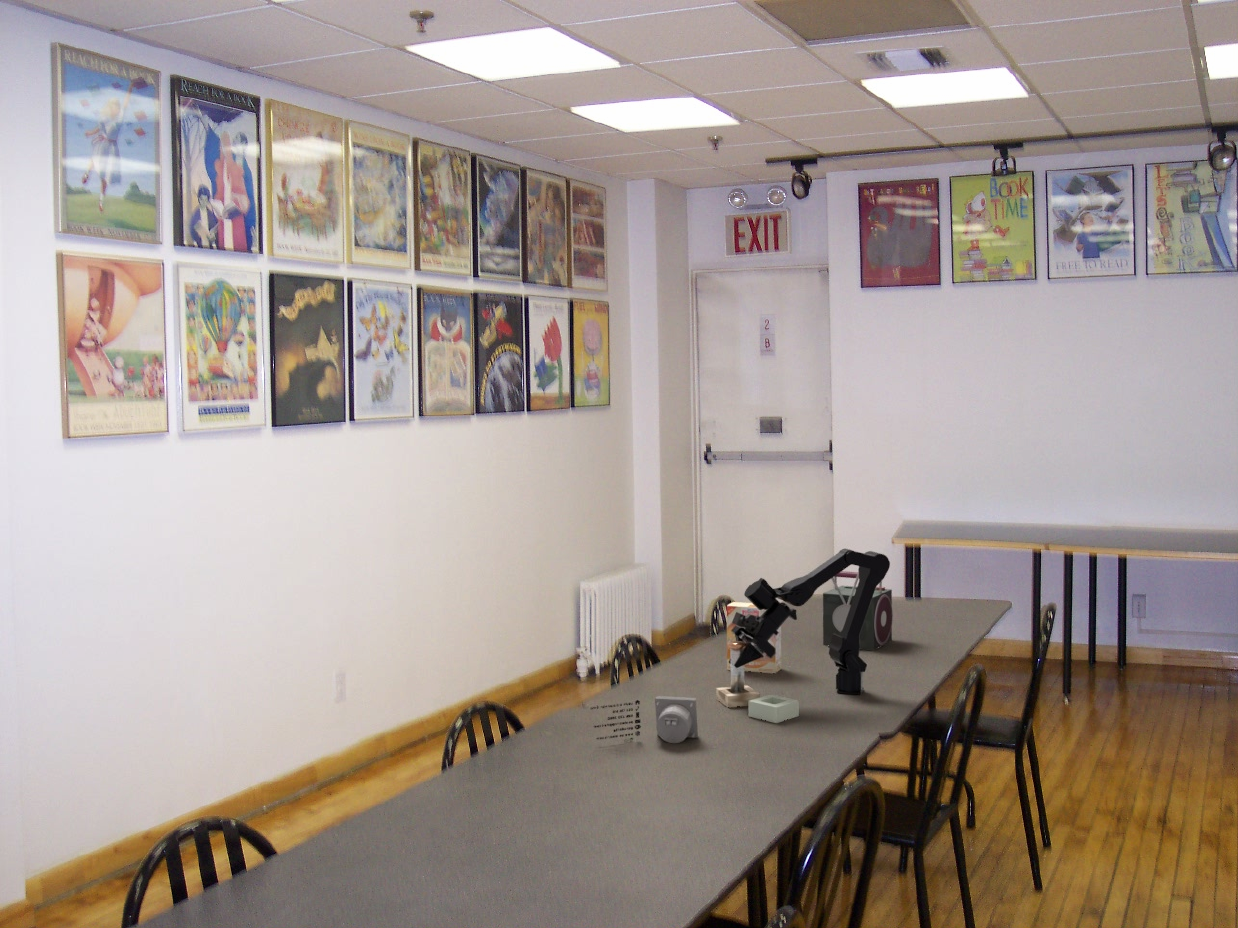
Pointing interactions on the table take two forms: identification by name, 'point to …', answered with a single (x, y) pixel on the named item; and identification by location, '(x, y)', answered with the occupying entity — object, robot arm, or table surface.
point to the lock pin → (736, 673)
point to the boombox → (877, 618)
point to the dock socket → (773, 708)
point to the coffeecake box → (775, 662)
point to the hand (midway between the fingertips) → (732, 665)
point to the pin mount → (736, 696)
